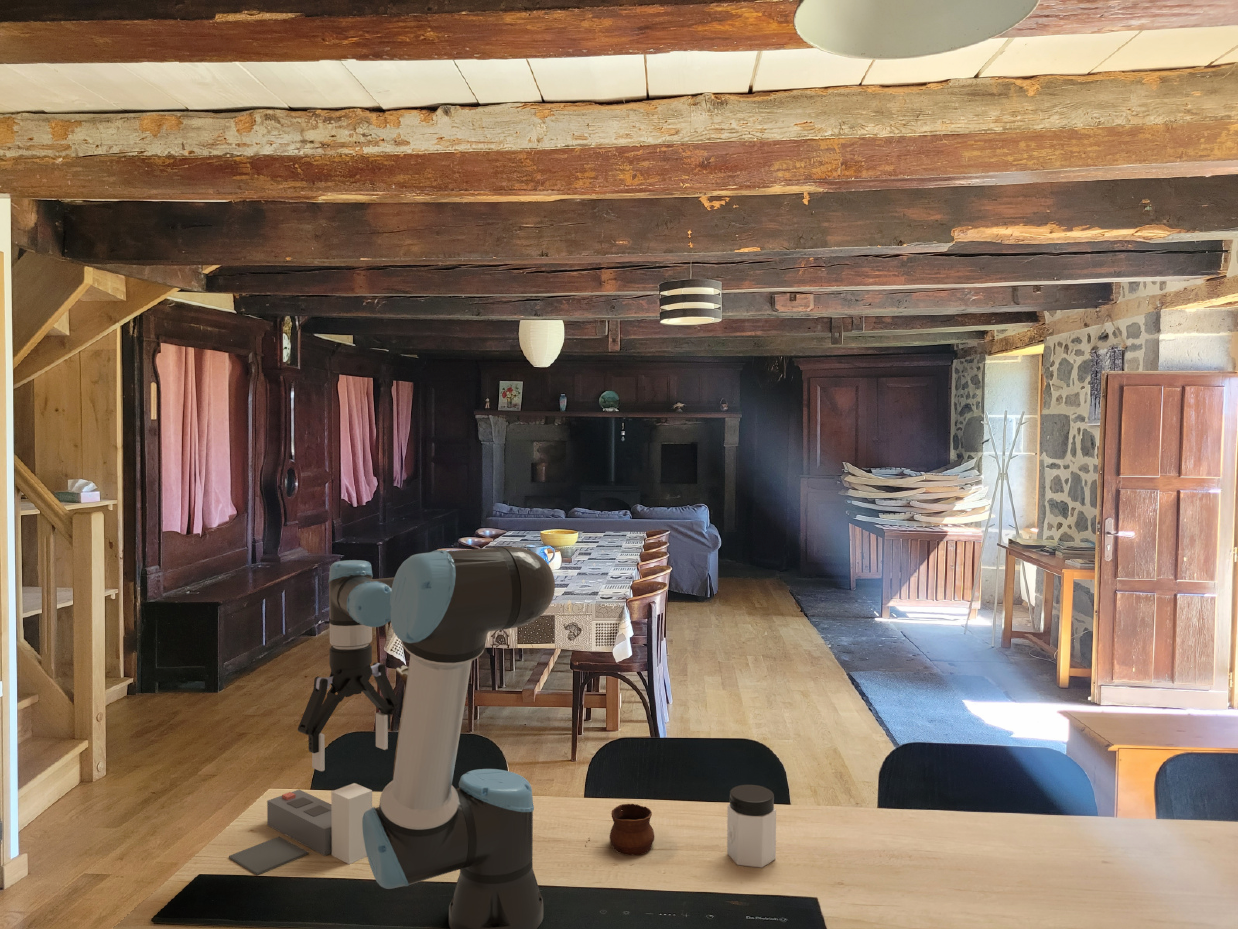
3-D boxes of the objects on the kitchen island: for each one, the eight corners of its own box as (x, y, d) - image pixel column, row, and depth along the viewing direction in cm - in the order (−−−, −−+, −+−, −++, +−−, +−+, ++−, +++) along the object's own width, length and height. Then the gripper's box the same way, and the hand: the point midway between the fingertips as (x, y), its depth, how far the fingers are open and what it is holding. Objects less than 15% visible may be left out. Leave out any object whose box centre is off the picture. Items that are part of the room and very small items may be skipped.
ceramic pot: (569, 858, 158) (570, 821, 158) (605, 820, 175) (606, 786, 175) (662, 879, 152) (663, 840, 152) (690, 837, 168) (691, 802, 168)
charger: (372, 854, 159) (372, 790, 159) (349, 864, 155) (348, 799, 155) (345, 840, 165) (345, 779, 164) (322, 850, 161) (322, 787, 160)
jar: (721, 848, 162) (721, 786, 162) (759, 843, 165) (760, 781, 164) (741, 871, 154) (742, 805, 153) (782, 865, 156) (782, 800, 156)
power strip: (357, 842, 164) (356, 813, 164) (324, 855, 158) (324, 826, 158) (299, 813, 176) (299, 786, 176) (267, 825, 171) (267, 797, 171)
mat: (308, 854, 159) (308, 852, 159) (257, 875, 151) (257, 873, 151) (279, 838, 165) (279, 836, 165) (228, 858, 157) (228, 856, 157)
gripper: (393, 630, 170) (393, 735, 171) (277, 654, 150) (277, 773, 151) (417, 635, 165) (417, 744, 166) (300, 661, 146) (301, 784, 146)
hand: (351, 758), depth 159 cm, fingers open, 13 cm apart
